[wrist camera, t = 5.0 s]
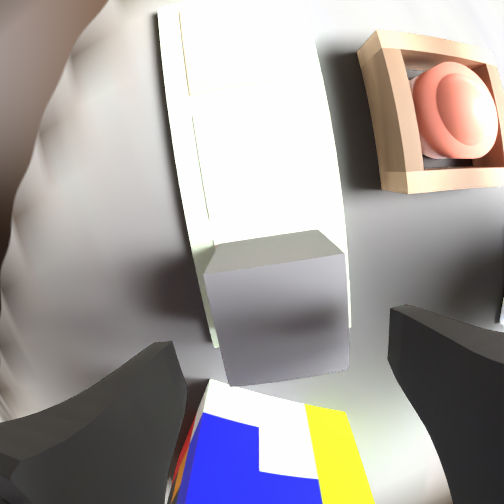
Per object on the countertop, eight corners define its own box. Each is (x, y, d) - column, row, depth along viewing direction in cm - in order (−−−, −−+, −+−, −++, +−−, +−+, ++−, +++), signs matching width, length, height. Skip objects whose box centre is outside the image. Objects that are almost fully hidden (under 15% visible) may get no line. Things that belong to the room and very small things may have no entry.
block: (317, 228, 15) (345, 253, 10) (325, 317, 16) (349, 369, 12) (219, 243, 16) (203, 274, 11) (236, 331, 17) (229, 387, 12)
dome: (456, 80, 13) (500, 63, 9) (469, 158, 14) (519, 158, 10) (388, 74, 13) (427, 47, 9) (404, 160, 15) (451, 158, 10)
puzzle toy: (210, 377, 19) (183, 510, 9) (344, 411, 19) (380, 524, 10) (178, 457, 21) (155, 554, 11) (288, 481, 22) (295, 572, 12)
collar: (463, 63, 13) (491, 50, 10) (484, 181, 15) (516, 185, 12) (356, 52, 14) (376, 29, 10) (381, 189, 15) (408, 194, 12)
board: (297, -9, 13) (298, -15, 12) (348, 322, 17) (351, 328, 17) (160, 12, 13) (156, 7, 12) (215, 342, 18) (213, 348, 17)
